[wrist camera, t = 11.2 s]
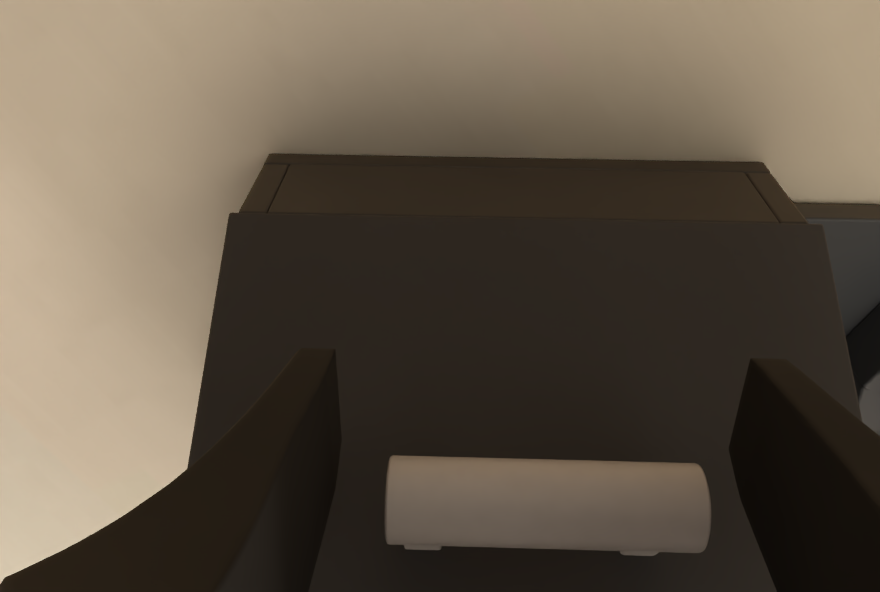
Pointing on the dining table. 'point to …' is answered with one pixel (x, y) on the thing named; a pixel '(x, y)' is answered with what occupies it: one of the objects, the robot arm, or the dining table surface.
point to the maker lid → (526, 389)
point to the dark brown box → (520, 189)
